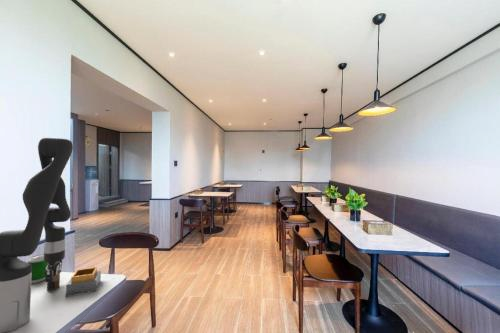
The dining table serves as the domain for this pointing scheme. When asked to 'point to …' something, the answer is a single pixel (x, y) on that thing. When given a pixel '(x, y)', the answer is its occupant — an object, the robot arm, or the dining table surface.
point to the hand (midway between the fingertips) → (53, 286)
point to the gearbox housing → (83, 281)
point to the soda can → (38, 268)
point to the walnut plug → (56, 281)
